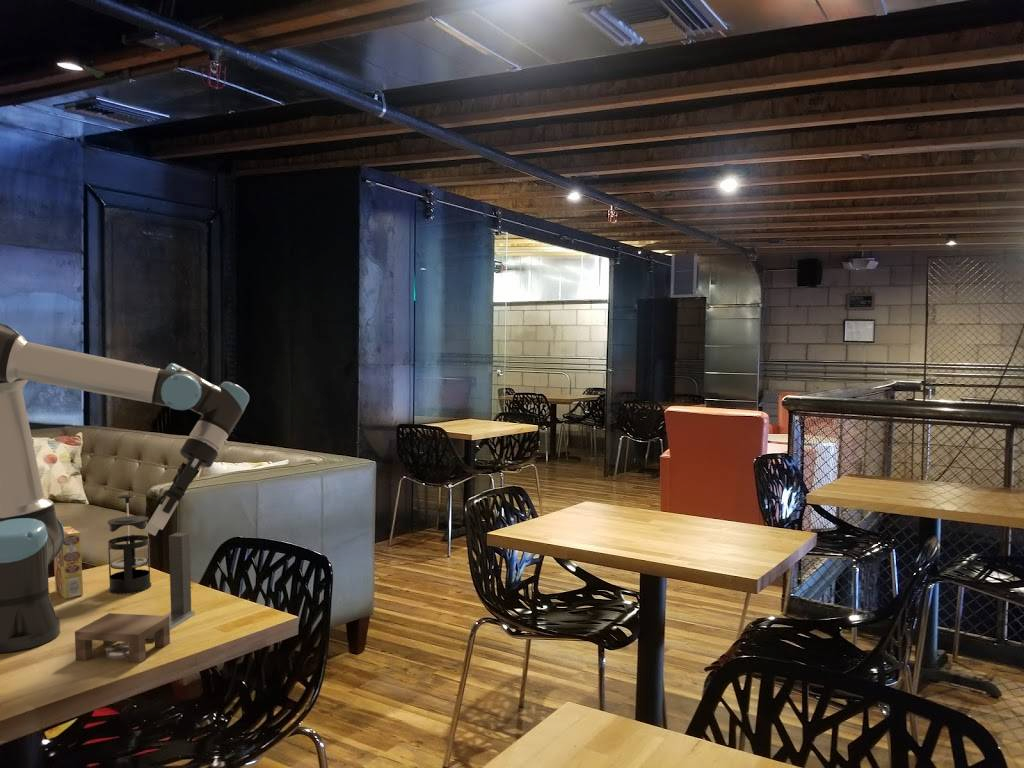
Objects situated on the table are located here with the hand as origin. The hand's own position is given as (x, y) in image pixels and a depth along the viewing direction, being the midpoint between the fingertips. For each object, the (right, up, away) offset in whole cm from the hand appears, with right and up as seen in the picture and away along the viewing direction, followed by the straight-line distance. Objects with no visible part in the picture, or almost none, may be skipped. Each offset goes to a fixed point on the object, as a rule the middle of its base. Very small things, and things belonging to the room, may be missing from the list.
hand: (152, 530), depth 169 cm
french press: (-16, -18, +23) cm, 34 cm away
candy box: (-29, -19, +19) cm, 39 cm away
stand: (+2, -20, -17) cm, 26 cm away
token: (+2, -21, -18) cm, 27 cm away
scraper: (+4, -20, -3) cm, 20 cm away
